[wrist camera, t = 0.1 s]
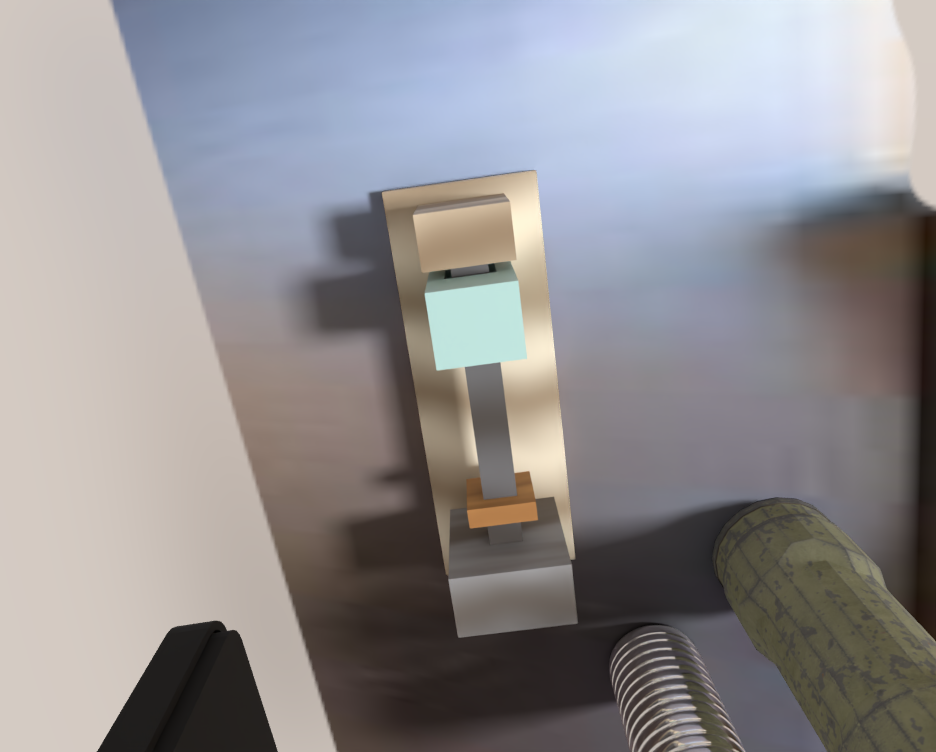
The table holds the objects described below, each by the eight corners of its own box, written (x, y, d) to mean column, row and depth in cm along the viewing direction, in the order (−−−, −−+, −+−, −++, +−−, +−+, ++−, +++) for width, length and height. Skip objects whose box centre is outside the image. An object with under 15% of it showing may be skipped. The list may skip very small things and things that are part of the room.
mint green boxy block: (430, 266, 42) (424, 293, 35) (508, 255, 42) (518, 280, 35) (440, 331, 43) (436, 370, 36) (515, 321, 43) (527, 358, 36)
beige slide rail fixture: (383, 191, 43) (364, 204, 34) (534, 169, 42) (553, 178, 34) (446, 566, 51) (443, 653, 42) (573, 551, 50) (596, 635, 42)
